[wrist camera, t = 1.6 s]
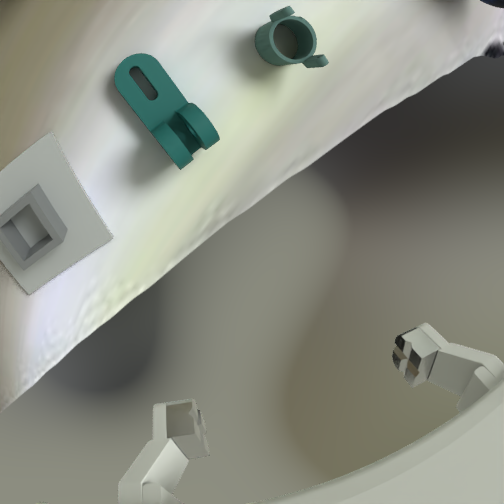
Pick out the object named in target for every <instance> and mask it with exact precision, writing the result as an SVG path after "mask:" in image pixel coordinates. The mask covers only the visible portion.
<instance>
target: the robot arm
mask: <svg viewBox="0 0 504 504" xmlns="http://www.w3.org/2000/svg"><path fill="white" fill-rule="evenodd" d="M395 344H396V345H397V346H396V347H395V348H394V350H393V354H392V358H393V362H394V364H395V367H396V368H397V369H398V370H399V371H401V372H404V378H405V380H406V381H407V382H408V383H409V385H410V386H411V387H414V386H416V385H418V384H420V383H422V382H424V381H426V380H428V381H429V382H431V383H433V384H436V385H438V386H440V387H442V388H444V389H446V390H448V391H450V392H452V393H455V394H457V395H459V396H461V398H460V400H459V402H458V403H457V406H456V408H457V409H458V410H459V412H460V413H459V414H458V415H456V416H455V417H453V418H452V419H450V420H449V421H447V422H446V423H444V424H443V425H441V426H440V427H438V428H437V429H435V430H433V431H432V432H430V433H429V434H427V435H425V436H424V437H422V438H420V439H418V440H417V441H415V442H413V443H411V444H410V445H408V446H406V447H404V448H402V449H400V450H398V451H397V452H395V453H393V454H391V455H389V456H387V457H385V458H383V459H381V460H378V461H376V462H374V463H372V464H370V465H368V466H366V467H363V468H361V469H358V470H356V471H354V472H351V473H349V474H346V475H344V476H341V477H339V478H336V479H333V480H331V481H328V482H325V483H322V484H319V485H316V486H313V487H310V488H307V489H304V490H300V491H297V492H294V493H290V494H286V495H283V496H279V497H275V498H271V499H267V500H262V501H258V502H253V503H248V504H504V364H503V363H502V362H501V361H500V360H499V359H498V358H497V357H496V356H495V355H493V354H489V353H486V352H483V351H479V350H476V349H472V348H469V347H465V346H461V345H458V344H454V343H450V344H449V343H448V342H447V341H446V340H445V339H444V338H443V337H441V335H440V334H439V333H438V332H437V331H436V330H435V329H433V328H432V327H431V326H430V325H429V324H428V323H424V324H422V325H419V326H418V327H415V328H413V329H411V330H408V331H406V332H404V333H402V334H400V335H398V336H397V337H396V339H395ZM205 434H206V426H205V422H204V418H203V415H202V413H201V411H200V410H198V409H197V403H196V402H195V400H194V399H189V400H182V401H175V402H168V403H160V404H154V407H153V440H149V441H148V443H147V444H146V446H145V447H144V448H143V450H142V451H141V452H140V454H139V455H138V457H137V458H136V460H135V461H134V462H133V464H132V465H131V467H130V468H129V469H128V471H127V472H126V473H125V475H124V476H123V478H122V479H121V480H120V482H119V488H118V489H119V490H118V504H184V503H182V502H181V501H179V500H178V499H177V498H176V497H174V496H173V495H172V494H173V492H174V490H175V488H176V486H177V484H178V482H179V480H180V478H181V476H182V474H183V472H184V470H185V468H186V466H187V463H188V461H189V459H194V458H201V457H206V456H210V452H209V445H208V441H207V439H206V438H205V436H204V435H205ZM37 504H50V503H44V502H39V503H37Z"/></svg>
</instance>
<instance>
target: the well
mask: <svg viewBox="0 0 504 504" xmlns="http://www.w3.org/2000/svg"><path fill="white" fill-rule="evenodd" d="M112 239H113V235H112V233H111V232H110V230H109V229H108V227H107V226H106V224H105V223H104V221H103V220H102V218H101V216H100V215H99V213H98V212H97V210H96V208H95V207H94V205H93V204H92V202H91V200H90V199H89V197H88V195H87V194H86V192H85V190H84V189H83V187H82V185H81V184H80V182H79V180H78V178H77V177H76V175H75V173H74V171H73V170H72V168H71V166H70V164H69V162H68V161H67V159H66V157H65V155H64V153H63V151H62V150H61V148H60V146H59V144H58V142H57V140H56V138H55V136H54V134H53V132H52V131H51V132H49V133H48V134H47V135H45V136H44V137H42V138H41V139H40V140H38V141H37V142H36V143H34V144H33V145H32V146H31V147H29V148H28V149H27V150H25V151H24V152H23V153H22V154H20V155H19V156H18V157H17V158H16V159H14V160H13V161H12V162H11V163H10V164H9V165H7V166H6V167H5V168H4V169H3V170H2V171H1V172H0V260H1V261H2V263H3V264H4V265H5V267H6V268H7V269H8V270H9V272H10V273H11V274H12V275H13V277H14V278H15V279H16V280H17V282H18V283H19V284H20V285H21V286H22V288H23V289H24V290H25V291H26V292H27V293H28V294H29V295H30V294H31V293H33V292H34V291H36V290H37V289H38V288H40V287H41V286H42V285H44V284H45V283H47V282H48V281H50V280H51V279H52V278H54V277H55V276H57V275H58V274H60V273H61V272H63V271H64V270H66V269H67V268H68V267H70V266H71V265H73V264H74V263H76V262H77V261H79V260H80V259H82V258H84V257H85V256H87V255H88V254H90V253H91V252H93V251H94V250H96V249H97V248H99V247H101V246H102V245H104V244H105V243H107V242H109V241H110V240H112Z"/></svg>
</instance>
